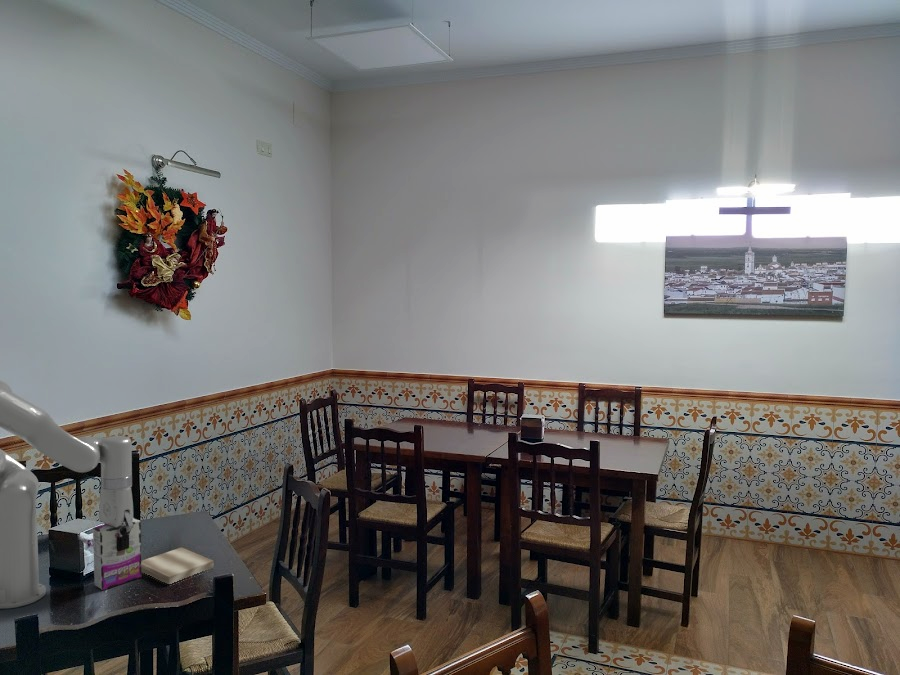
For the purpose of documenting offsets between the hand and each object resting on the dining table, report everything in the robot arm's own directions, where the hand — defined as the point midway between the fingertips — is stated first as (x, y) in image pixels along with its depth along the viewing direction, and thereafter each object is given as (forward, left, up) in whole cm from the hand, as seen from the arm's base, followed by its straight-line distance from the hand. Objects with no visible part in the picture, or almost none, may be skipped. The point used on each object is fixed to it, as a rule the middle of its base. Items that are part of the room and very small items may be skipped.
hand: (117, 546), depth 187 cm
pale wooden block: (+14, -5, -11) cm, 18 cm away
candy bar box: (0, 0, -10) cm, 10 cm away
